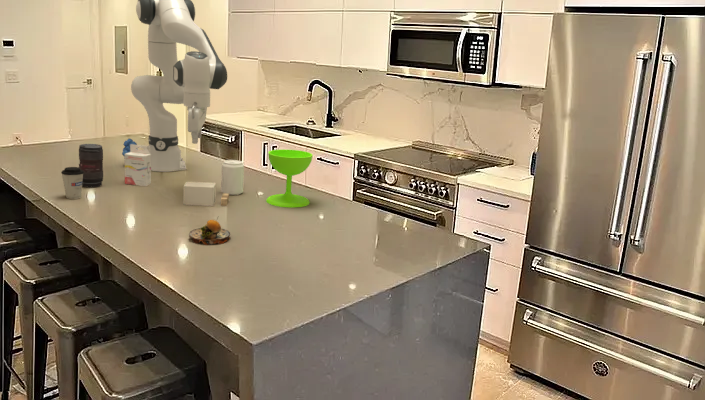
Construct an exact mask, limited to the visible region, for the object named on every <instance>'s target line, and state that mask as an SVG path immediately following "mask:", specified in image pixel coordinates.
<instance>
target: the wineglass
mask: <svg viewBox="0 0 705 400" xmlns="http://www.w3.org/2000/svg"><path fill="white" fill-rule="evenodd" d="M267 155H268V160H269V163H270V165H271V166H272V167H273V169H274V170H275V171H276V172H278V173H279V174H281V175H284V176H286V185H285V192H284V193H277V194H272V195H270V196H268V197H266V199H265V200H266V203H267V204H269V205H271V206H275V207H278V208H279V207H280V208H289V209H290V208H291V209H292V208H302V207H306V206H309V205H310V202H311V201H310V200H309V199H308V198H307V197H305V196H302V195H299V194H295V193H292V185H293V184H292V180H293V176H297V175H300V174H302V173H304V172H305V171H306V170H307V169H308V168H309V167H310V165H311V163H312V160H313V154H312V153H311V152H308V151H304V150H297V149H284V148H283V149H272V150H269V151H268V152H267Z"/></svg>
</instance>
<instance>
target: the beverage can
mask: <svg viewBox="0 0 705 400" xmlns="http://www.w3.org/2000/svg"><path fill="white" fill-rule="evenodd" d="M243 162H244V161H242V160H236V159H225V160H223V162H222V164H221V180H220V181H221V184H220V185H221V187H220V189H221V190H220V191H221V193H222V194H223V193H227V194H229V196H237V195H241V194H243V192H244V176H245V173H244V172H245V165H244V163H243Z"/></svg>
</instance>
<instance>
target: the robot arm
mask: <svg viewBox="0 0 705 400" xmlns="http://www.w3.org/2000/svg"><path fill="white" fill-rule="evenodd" d="M135 13H136V16H137V18H138V20H139V21H140V22H141V24H144V25H148V30H147V49H148V50H147V51H148V52H147V53H148V54H147V55H148V56H147V57H148V61H149V62H150V64H152V66H154V67H156V68H157V69H159V70H160V71H161V72H162V75H163V76H162V75H161V76H160V75H152V74H151V75H149V74H146V75H137V76H135V77H134V79H132V82H131V85H130V90H131V91H130V92H131V93H132V95H133V97H134V98H135V99H136V100H137V101H138V102H139V103H140V104H141V105H142V107H144V109H145V112H146V113H147V117H148V125H149V126H148V127H149V135H148V139H147V140H148V146H150V154H151V172H175V171H176V172H177V171H185V170H187V167H186V162H185V160H183V158H182V154H181V153H182V150H181V149H180V147H179V136H178V120H177V118H176V116H175V115H174V113H171V112H170V111H168V110H167V109H166V108H165V107H164V104H172V105H173V104H174V105H183V106H184V107H186V108H187V111H188V114H187V132H188V133H191V134H190V135H191V136H190V137H191V143H192V145H193V144H195V145H196V144H198V142H199V139H201V138H202V131H203V125H204V124H205V123H206V118H207V110H208V108H209V107H211V90H219V89H222V87H224V85H226V83H227V81H228V71H227V68H226V66H225V64H224V63H223V61H222V60H221V59H220V57H219V56H218V53H217V52H216V50H215V48H214V46H213V44H212V42H211V39H210V38H209V35H207V33H206V31H205V30H204V29H203V28H202V27H200V26H199V25H198V24H196V23H195V18H196V8H195V4H194V3H193V1H192V0H137V2H136V6H135ZM177 43H178V44H181V45H185V46H188V47H191V48H193V49H195V50H197V51H194V50H193V51H187V52H186V53H185V54H184V58H183V59H181V60H178V51H177V50H178V49H177Z"/></svg>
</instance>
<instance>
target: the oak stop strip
mask: <svg viewBox="0 0 705 400" xmlns="http://www.w3.org/2000/svg"><path fill="white" fill-rule="evenodd" d="M229 200H230V195H229V194H227V193H223V192H222V196H221V198H220V206H221V207H227V206H228V204H229Z"/></svg>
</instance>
